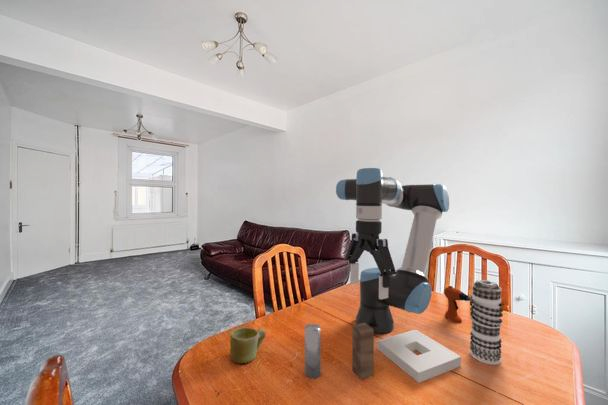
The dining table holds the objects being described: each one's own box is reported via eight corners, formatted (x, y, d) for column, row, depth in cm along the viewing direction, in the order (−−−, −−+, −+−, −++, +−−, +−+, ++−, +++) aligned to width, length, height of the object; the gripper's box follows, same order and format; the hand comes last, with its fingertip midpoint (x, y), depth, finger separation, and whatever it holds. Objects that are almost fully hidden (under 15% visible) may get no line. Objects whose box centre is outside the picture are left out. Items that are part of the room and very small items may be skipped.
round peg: (302, 370, 80) (302, 325, 79) (316, 366, 81) (316, 322, 81) (308, 380, 75) (308, 333, 75) (323, 376, 77) (323, 329, 77)
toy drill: (474, 333, 97) (470, 294, 99) (442, 317, 115) (440, 284, 116) (485, 332, 98) (481, 293, 99) (452, 316, 116) (449, 283, 117)
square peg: (352, 370, 80) (352, 325, 79) (364, 366, 81) (364, 322, 81) (361, 379, 75) (361, 332, 75) (373, 375, 77) (373, 329, 77)
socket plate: (377, 348, 90) (377, 340, 90) (415, 337, 98) (415, 329, 98) (418, 382, 74) (418, 372, 74) (460, 366, 81) (461, 356, 81)
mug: (230, 367, 78) (234, 331, 82) (224, 359, 87) (228, 326, 90) (268, 364, 83) (271, 330, 87) (259, 357, 92) (262, 326, 95)
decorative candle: (485, 346, 91) (486, 276, 90) (510, 363, 82) (511, 286, 81) (462, 349, 90) (463, 278, 89) (485, 367, 81) (486, 288, 80)
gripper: (335, 217, 87) (335, 279, 88) (388, 224, 65) (387, 308, 65) (354, 216, 90) (353, 277, 91) (410, 223, 68) (409, 303, 68)
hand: (367, 290), depth 78 cm, fingers open, 13 cm apart
